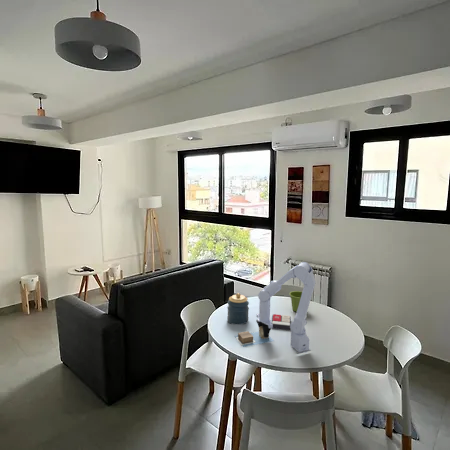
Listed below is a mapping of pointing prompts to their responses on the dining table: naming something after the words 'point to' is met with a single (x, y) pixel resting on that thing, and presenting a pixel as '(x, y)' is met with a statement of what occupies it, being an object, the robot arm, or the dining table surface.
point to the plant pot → (295, 299)
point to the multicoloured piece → (281, 322)
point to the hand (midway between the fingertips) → (263, 334)
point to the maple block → (262, 333)
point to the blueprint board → (255, 340)
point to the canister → (238, 309)
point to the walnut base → (245, 337)
